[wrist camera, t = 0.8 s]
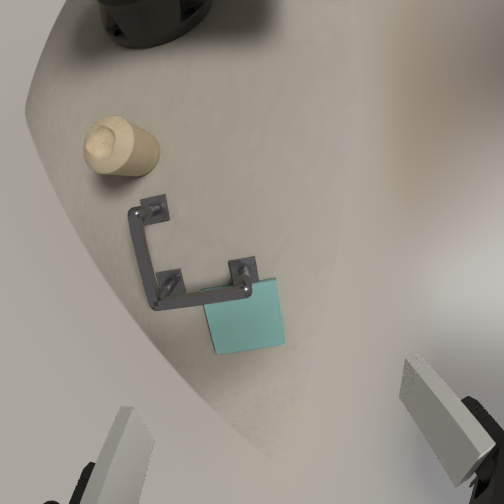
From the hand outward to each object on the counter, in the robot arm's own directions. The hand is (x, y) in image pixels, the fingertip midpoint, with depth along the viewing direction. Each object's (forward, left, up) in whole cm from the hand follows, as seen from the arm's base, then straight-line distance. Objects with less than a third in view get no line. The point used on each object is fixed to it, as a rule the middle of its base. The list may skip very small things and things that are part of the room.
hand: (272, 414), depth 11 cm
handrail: (-5, -6, -23) cm, 24 cm away
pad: (+6, -2, -23) cm, 23 cm away
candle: (-16, -11, -23) cm, 30 cm away
